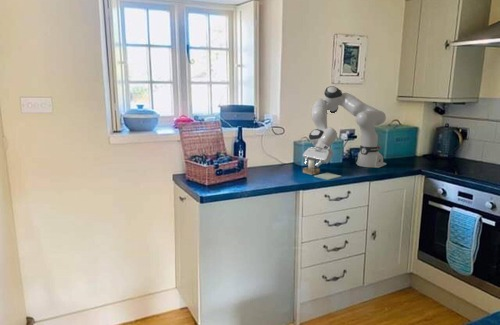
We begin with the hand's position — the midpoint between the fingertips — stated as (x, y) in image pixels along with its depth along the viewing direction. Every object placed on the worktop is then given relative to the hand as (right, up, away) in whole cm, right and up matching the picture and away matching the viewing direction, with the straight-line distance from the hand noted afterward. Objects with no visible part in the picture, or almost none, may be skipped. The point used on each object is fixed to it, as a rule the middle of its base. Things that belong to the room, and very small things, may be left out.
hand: (310, 165), depth 238 cm
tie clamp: (0, -5, +1) cm, 5 cm away
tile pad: (+9, -7, -8) cm, 14 cm away
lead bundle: (0, -5, +1) cm, 5 cm away
